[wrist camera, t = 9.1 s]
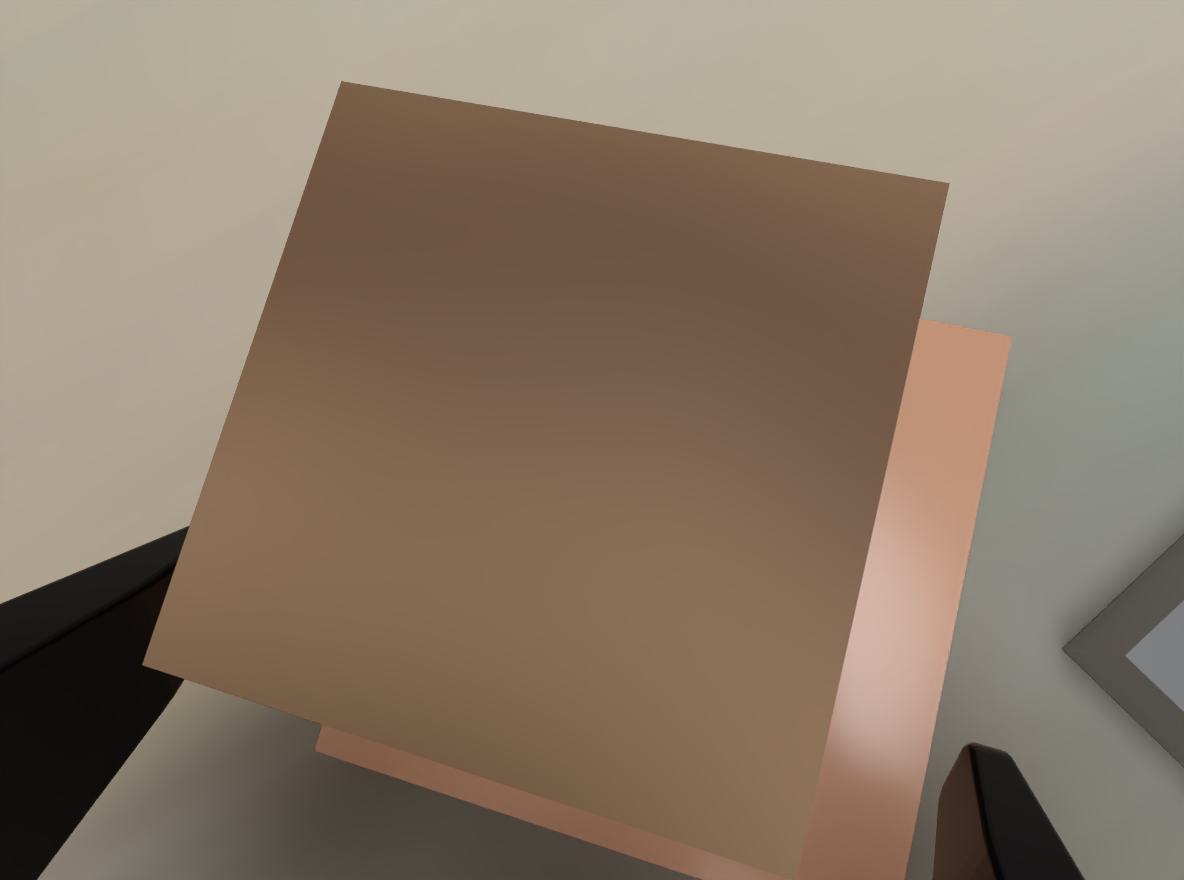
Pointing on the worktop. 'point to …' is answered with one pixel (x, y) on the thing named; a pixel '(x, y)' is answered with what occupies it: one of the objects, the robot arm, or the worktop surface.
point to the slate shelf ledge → (1143, 650)
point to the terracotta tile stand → (874, 653)
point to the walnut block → (563, 460)
